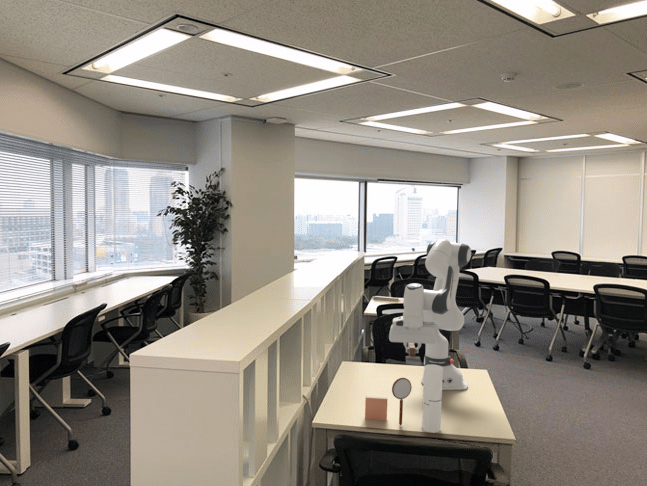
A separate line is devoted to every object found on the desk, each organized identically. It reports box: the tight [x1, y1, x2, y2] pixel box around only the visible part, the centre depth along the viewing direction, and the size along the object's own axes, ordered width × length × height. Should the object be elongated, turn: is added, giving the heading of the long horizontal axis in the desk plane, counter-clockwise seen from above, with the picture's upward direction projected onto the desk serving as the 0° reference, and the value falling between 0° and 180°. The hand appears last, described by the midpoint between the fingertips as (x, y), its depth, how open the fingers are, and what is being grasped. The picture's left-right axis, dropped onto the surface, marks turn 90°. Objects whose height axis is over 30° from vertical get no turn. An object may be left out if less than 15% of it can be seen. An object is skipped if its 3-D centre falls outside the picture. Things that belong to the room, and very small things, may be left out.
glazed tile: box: [364, 395, 388, 421], centre depth 207 cm, size 9×2×9 cm, turn 84°
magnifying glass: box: [391, 377, 412, 427], centre depth 200 cm, size 9×2×20 cm, turn 110°
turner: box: [405, 343, 422, 366], centre depth 217 cm, size 22×6×4 cm, turn 174°
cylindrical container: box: [421, 364, 443, 433], centre depth 198 cm, size 7×7×25 cm
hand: (412, 352), depth 217 cm, fingers closed on turner, 2 cm apart
